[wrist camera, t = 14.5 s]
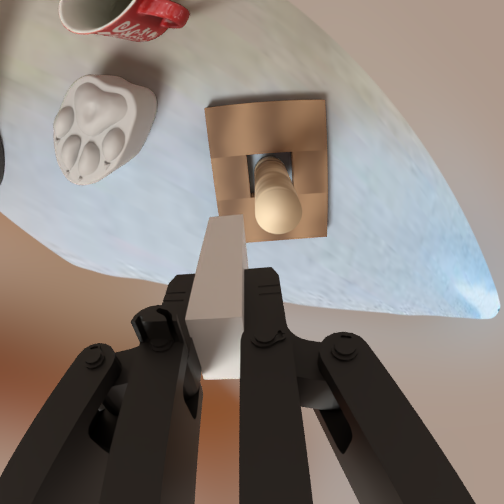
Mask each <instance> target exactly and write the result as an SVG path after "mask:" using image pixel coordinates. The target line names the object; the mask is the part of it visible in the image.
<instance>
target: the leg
mask: <svg viewBox="0 0 504 504" xmlns="http://www.w3.org/2000/svg"><path fill="white" fill-rule="evenodd" d="M254 176H255V217H256V220H257V222H258V224H259V225H260V227H261V228H262V229H264V230H265V231H267V232H269V233H273V234H284V233H287V232H289V231H291V230H293V229H294V228H295V227H296V226H297V225H298V224H299V222H300V220H301V217H302V206H301V203H300V201H299V199H298V196H297V194H296V191H295V189H294V186H293V184H292V182H291V179H290V177H289V175H288V172H287V170H286V168H285V165H284V163H283V162H282V161H281V160H280V159H278V158H276V157H273V156H267V157H264V158H262V159H260V160H259V161H258V162H257V164H256V166H255V170H254Z"/></svg>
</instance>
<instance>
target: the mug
mask: <svg viewBox="0 0 504 504" xmlns="http://www.w3.org/2000/svg"><path fill="white" fill-rule="evenodd" d="M189 15H190V13H189V11H188V10H187V9H186V8H185V7H183V6H181V5H180V4H177V3H175V2H172V1H170V0H60V2H59V17H60V20H61V22H62V24H63V25H64V27H65V28H66V29H68V30H69V31H71V32H73V33H76V34H97V35H104V36H112V37H116V38H122V39H127V40H131V41H136V42H145V41H150V40H153V39H155V38H157V37H159V36H160V35H162V34H163V33H164V32H165V31H166V30H167V29H168V28H182V27H183V26H184V25H185V24H186V22H187V20H188V18H189Z"/></svg>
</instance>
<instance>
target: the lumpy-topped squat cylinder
mask: <svg viewBox="0 0 504 504" xmlns="http://www.w3.org/2000/svg"><path fill="white" fill-rule="evenodd" d="M156 112H157V100H156V97H155V94H154V93H153V92H152V91H151V90H150V89H148V88H146V87H143V86H138V85H134V84H132V83H130V82H128V81H126V80H125V79H123V78H121V77H119V76H111V75H85V76H83V77H81V78H79V79H78V80H76V81H75V82H74V83H73V84H72V85H71V87H70V88H69V90H68V91H67V93H66V95H65V98H64V100H63V102H62V104H61V107H60V110H59V113H58V114H57V116H56V118H55V120H54V124H53V128H54V147H55V154H56V158H57V162H58V164H59V166H60V168H61V170H62V172H63V174H64V175H65V177H66V178H67V179H68V180H69V181H70V182H72V183H74V184H77V185H89V184H93V183H96V182H98V181H100V180H101V179H103V178H104V177H106V176H107V175H109V174H110V173H112V172H113V171H115V170H116V169H118V168H120V167H121V166H123V165H124V164H126V163H127V162H129V161H130V160H131V159H132V158H134V157H135V156H136V155H137V154H138V153H139V152H140V150H141V148H142V146H143V145H144V143H145V141H146V139H147V136H148V134H149V132H150V130H151V127H152V124H153V121H154V119H155V116H156Z"/></svg>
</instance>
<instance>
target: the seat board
mask: <svg viewBox="0 0 504 504" xmlns="http://www.w3.org/2000/svg"><path fill="white" fill-rule="evenodd" d="M204 109H205V117H206V125H207V133H208V141H209V149H210V156H211V164H212V171H213V178H214V185H215V192H216V199H217V206H218V213H219V216H229V215H241V214H243V219H244V229H245V239H246V243H248V242H261V241H274V240H287V239H300V238H314V237H327V209H328V170H327V130H326V108H325V100H283V101H266V102H253V103H242V104H232V105H223V106H215V107H208V108H204ZM277 152H291V167H292V184H293V186H294V189H295V191H296V194H297V196H298V199H299V201H300V203H301V206H302V217H301V220H300V222H299V224H298V225H297V226H296V227H295V228H294V229H293V230H291V231H289V232H287V233H284V234H273V233H269V232H267V231H265V230H264V229H262V228H261V227H260V225H259V224H258V222H257V220H256V217H255V192H253V193H251V191H250V181H249V171H248V161H247V155H251V154H263V153H277Z"/></svg>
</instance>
